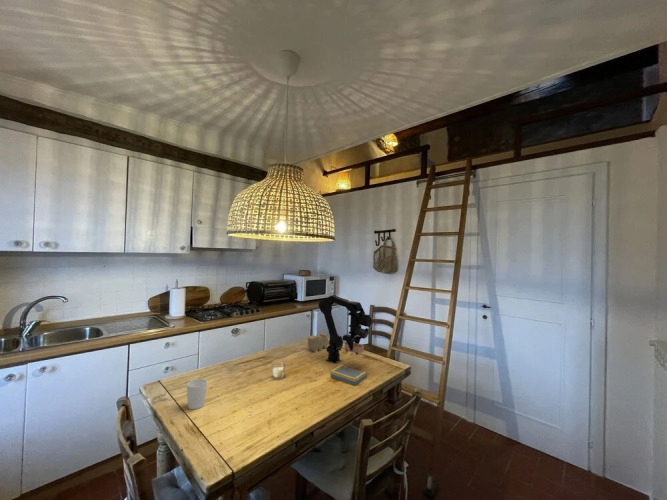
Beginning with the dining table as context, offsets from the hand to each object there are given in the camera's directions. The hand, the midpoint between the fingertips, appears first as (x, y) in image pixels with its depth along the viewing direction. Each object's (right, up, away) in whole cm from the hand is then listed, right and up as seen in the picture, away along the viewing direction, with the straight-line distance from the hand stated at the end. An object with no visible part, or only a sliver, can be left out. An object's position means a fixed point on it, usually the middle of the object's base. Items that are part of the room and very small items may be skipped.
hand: (354, 349), depth 168 cm
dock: (-4, -11, -12) cm, 17 cm away
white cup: (-73, -9, -45) cm, 86 cm away
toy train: (-23, -11, +30) cm, 40 cm away
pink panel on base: (0, -2, 0) cm, 2 cm away
